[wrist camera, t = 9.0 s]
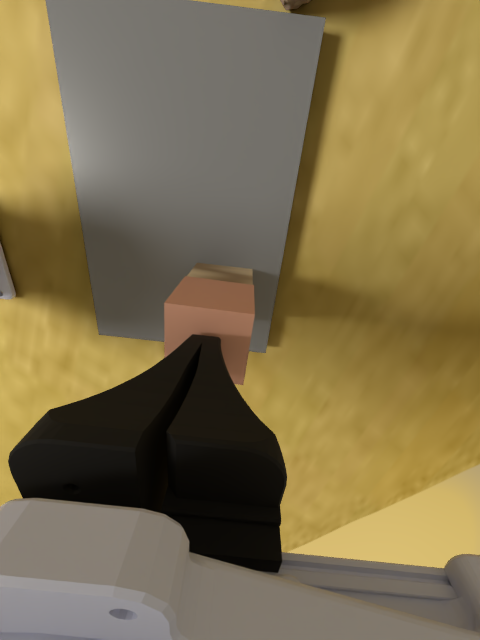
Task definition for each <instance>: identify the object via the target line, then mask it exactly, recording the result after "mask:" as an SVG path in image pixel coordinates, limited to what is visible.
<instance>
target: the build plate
mask: <svg viewBox="0 0 480 640" xmlns="http://www.w3.org/2000/svg"><path fill="white" fill-rule="evenodd" d="M46 6H47V12H48V18H49V25H50V31H51V37H52V43H53V50H54V56H55V62H56V68H57V75H58V81H59V87H60V93H61V100H62V106H63V112H64V118H65V125H66V131H67V137H68V144H69V150H70V156H71V162H72V169H73V175H74V181H75V187H76V194H77V200H78V206H79V212H80V219H81V225H82V231H83V237H84V244H85V250H86V256H87V262H88V269H89V275H90V281H91V287H92V294H93V300H94V306H95V312H96V319H97V325H98V331H99V335H108V336H117V337H126V338H135V339H144V340H153V341H162V342H165V338H164V302H165V301H166V300H167V299H168V297H169V296H170V295H171V293H172V292H173V291H174V290H175V288H176V287H177V286H178V285H179V283H180V282H181V281H182V279H183V278H184V277H185V276H187V275H188V274H189V273H190V271H191V270H192V269H193V267H194V266H195V265H196V263H204V264H213V265H222V266H230V267H239V268H248V269H252V271H253V285H254V303H255V317H254V323H253V329H252V335H251V341H250V347H249V351H252V352H261V353H266V348H267V342H268V337H269V331H270V325H271V320H272V314H273V309H274V303H275V298H276V292H277V286H278V281H279V275H280V270H281V264H282V259H283V253H284V248H285V242H286V236H287V231H288V225H289V220H290V214H291V209H292V203H293V197H294V192H295V186H296V181H297V175H298V170H299V164H300V158H301V153H302V147H303V142H304V136H305V131H306V125H307V120H308V114H309V108H310V103H311V97H312V92H313V86H314V81H315V75H316V69H317V64H318V58H319V53H320V47H321V42H322V36H323V30H324V25H325V19H326V18H324V17H316V16H308V15H301V14H293V13H285V12H277V11H269V10H261V9H253V8H246V7H238V6H230V5H222V4H214V3H206V2H199V1H191V0H46Z"/></svg>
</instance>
